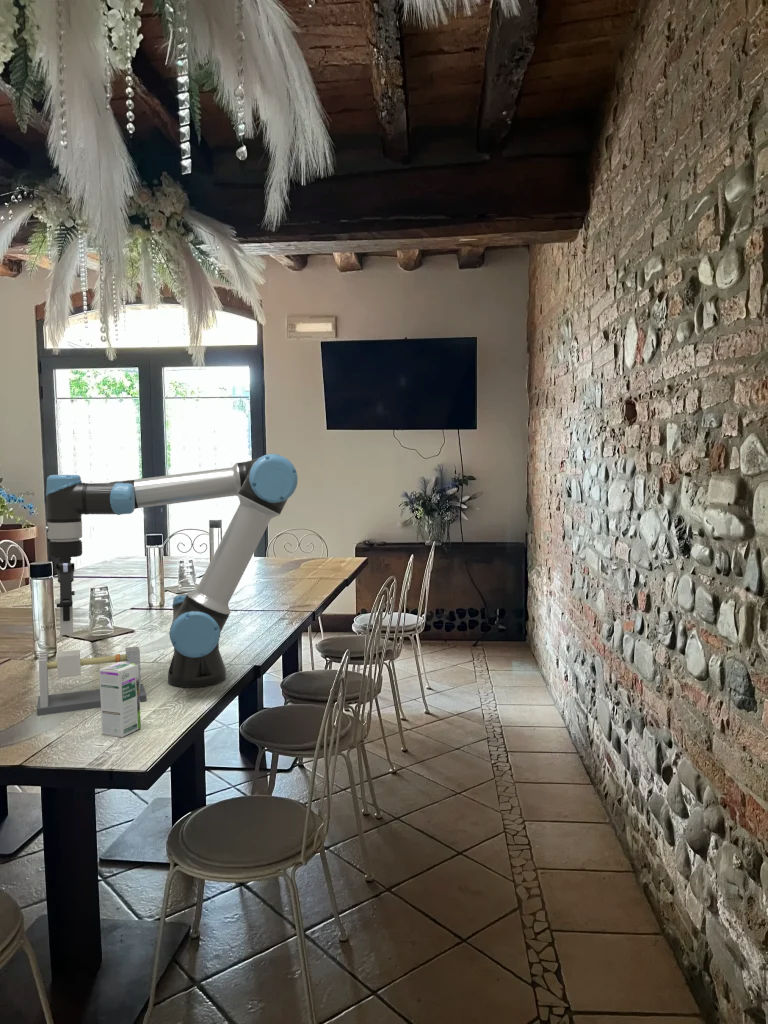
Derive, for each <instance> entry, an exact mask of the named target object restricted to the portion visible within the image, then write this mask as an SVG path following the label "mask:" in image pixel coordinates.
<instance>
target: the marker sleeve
mask: <svg viewBox="0 0 768 1024" xmlns="http://www.w3.org/2000/svg"><path fill="white" fill-rule="evenodd" d="M80 659H81V649H76V650H75V649H74V650H64V651H57V652H56V662H57V668H56V669H57V672H56V673H57V678H58V679H61V678H62V679H63V678H70V677H79V676H80V677H81V675H82V674H81V673H82V672H81V669H82V668H81V667H82V666H80Z"/></svg>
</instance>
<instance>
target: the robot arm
mask: <svg viewBox="0 0 768 1024" xmlns="http://www.w3.org/2000/svg"><path fill="white" fill-rule="evenodd" d="M297 486H298V473H297V469H296V467H295V466H294V463H292V462H291V461H290V460H289V459H288V458H287V457H285V456H282V455H280V454H278V453H277V454H276V453H268V454H265V455H262V456H260V457H257V458H255V459H251V460H247V461H243V462H242V461H241V462H235V464H234V465H233V466H232V467H224V468H215V469H208V470H202V471H201V470H200V471H193V472H186V473H185V472H183V473H177V474H176V473H175V474H169V475H160V476H152V477H146V478H145V477H144V478H136V479H128V480H121V481H119V480H116V481H111V482H97V483H95V482H93V483H92V482H91V483H89V482H82V478H81V476H80V475H79V474H50V475H49V476H47V478H46V486H45V487H46V489H45V491H46V493H45V503H46V522H47V523H46V525H45V526H44V527H43V528H44V531H47V532H46V533H47V539H48V540H49V541H48V542H47V543H46V545H47V546H46V547H47V556H48V557H49V558H55V559H57V558H58V561H59V563H56V565H55V567H56V569H55V570H56V571H55V572H56V573H57V574H56V575H57V583H59V602H58V603H56V608H59V630H60V631H59V633H60V636H67V635H74V611H73V609H74V607H73V605H74V604H73V603H74V602H73V596H75V593H76V592H75V590H73V588H72V586H73V585H72V583H73V582H74V581H75V579H74V577H75V576H74V575H75V574H74V572H75V571H76V570H75V569H76V568H75V563H74V562H71V561H72V558H76V557H81V556H82V555H83V541H82V540H81V538H82V537H83V520H82V515H86V516H87V515H117V516H121V515H130V514H132V513H134V511H135V509H142V508H150V507H157V506H159V507H160V506H165V505H172V504H179V503H180V504H181V503H189V502H195V501H204V500H212V499H220V498H226V497H234V496H235V497H238V500H239V505H238V507H237V509H236V511H235V513H234V515H233V516H232V519H231V521H230V523H229V525H228V526H227V529H226V531H225V532H224V535H223V536H222V538H221V541H220V543H219V544H218V546H217V549H216V550H215V552H214V554H213V556H212V558H211V560H210V562H209V564H208V566H207V568H206V570H205V572H204V574H203V576H202V577H201V579H200V582H199V584H198V585H197V588H196V589H193V590H191V591H188V592H187V593H186V594H182V595H176V596H174V597H173V600H172V605H171V606H172V614H173V615H172V617H173V618H172V622H171V625H170V627H169V638H170V639H169V640H170V641H171V645H172V646H173V654H172V657H171V662H170V664H169V668H168V671H167V683H168V684H169V685H171V686H173V687H178V688H179V687H180V688H202V687H208V686H212V685H215V684H219V683H221V682H224V681H225V680H226V678H227V668H226V666H225V663H224V660H223V657H222V654H221V651H220V646H219V645H220V638H221V632H222V630H223V628H224V627H225V624H226V622H227V621H228V618H229V617H230V614H231V610H230V606H229V602H230V601H231V599H232V597H233V595H234V593H235V591H236V589H237V587H238V585H239V583H240V581H241V579H242V578H243V575H244V573H245V571H246V569H247V567H248V565H249V563H250V561H251V559H252V558H253V555H254V553H255V551H256V550H257V547H258V546H259V544H260V542H261V540H262V537H263V535H264V534H265V531H266V529H267V528H268V525H269V524H270V522H271V520H272V518H275V517H278V516H280V515H281V513H282V512H283V510H284V508H285V505H286V503H287V501H288V499H290V498H291V497H292V495H294V493H295V492H296V489H297Z"/></svg>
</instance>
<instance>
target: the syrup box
mask: <svg viewBox="0 0 768 1024" xmlns="http://www.w3.org/2000/svg"><path fill="white" fill-rule="evenodd" d="M98 673H99V689H100V697H101V707H100V712H101V713H100V716H101V717H100V718H101V733H102V735H106V736H109V737H116V738H124V737H126V736H128V735H130V734H132V733H135V732H136V731H137V730H140V729H141V727H142V725H141V721H142V720H141V702H140V696H139V671H138V664H135V663H129V662H126V661H121V662H117V663H116V662H115V663H113V664H110V665H107V666H105V667H101V668H100V669H99V672H98Z"/></svg>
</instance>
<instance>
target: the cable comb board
mask: <svg viewBox="0 0 768 1024" xmlns="http://www.w3.org/2000/svg"><path fill="white" fill-rule="evenodd" d="M139 647H140V646H129V647H125V654H120V653H116V654H114V655H106V656H98V657H88V658H80V666H81V667H82V666H91V665H100V664H109V663H110V664H111V663H115V664H116V663H117V662H129V663H135V664H138V671H139V696H140V703H142V702H143V703H144V702H147V693H146V691H145V687H144V684H143V683H141V649H140V648H139ZM48 660H49V659H48V651H47V650H45V651H40V652H39V657H38V674H39V675H38V678H39V680H38V681H39V695H38V696H37V697H38V698H37V703H36V704H37V705H36V716H43V715H52V714H59V713H66V712H67V713H68V712H72V711H73V712H74V711H75V712H76V711H80V710H81V711H82V710H88V709H95V708H96V709H97V708H101V697H100V688H97V689H86V690H80V691H71V692H63V693H55V694H54V693H53V694H49V693H50V692H49V691H50V690H49V670H53V669H54V670H56V669H57V661H51V662H48Z"/></svg>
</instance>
